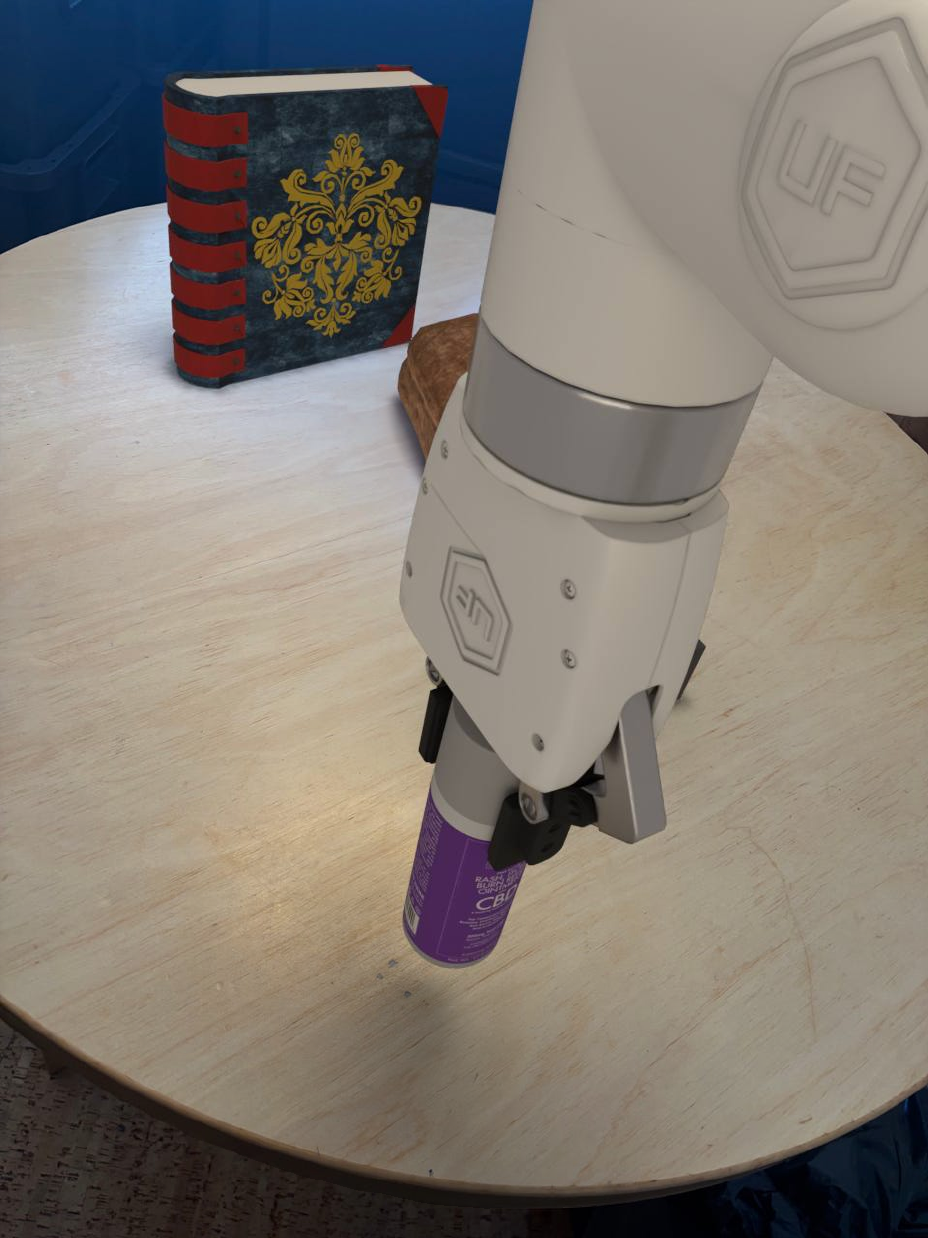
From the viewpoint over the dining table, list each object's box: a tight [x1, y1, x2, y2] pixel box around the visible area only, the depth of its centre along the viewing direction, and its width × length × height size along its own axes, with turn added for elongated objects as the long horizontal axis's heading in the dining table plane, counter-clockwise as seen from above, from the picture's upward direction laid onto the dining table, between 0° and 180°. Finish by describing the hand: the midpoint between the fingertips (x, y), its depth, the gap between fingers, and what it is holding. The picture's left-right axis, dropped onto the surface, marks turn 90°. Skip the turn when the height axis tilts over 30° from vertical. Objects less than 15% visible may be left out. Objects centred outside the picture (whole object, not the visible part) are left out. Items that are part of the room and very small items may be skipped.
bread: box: [397, 312, 478, 462], centre depth 87 cm, size 17×29×11 cm, turn 106°
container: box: [401, 695, 528, 970], centre depth 39 cm, size 5×5×15 cm
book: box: [161, 63, 449, 389], centre depth 86 cm, size 25×7×25 cm, turn 129°
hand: (488, 796), depth 38 cm, fingers closed on container, 4 cm apart
